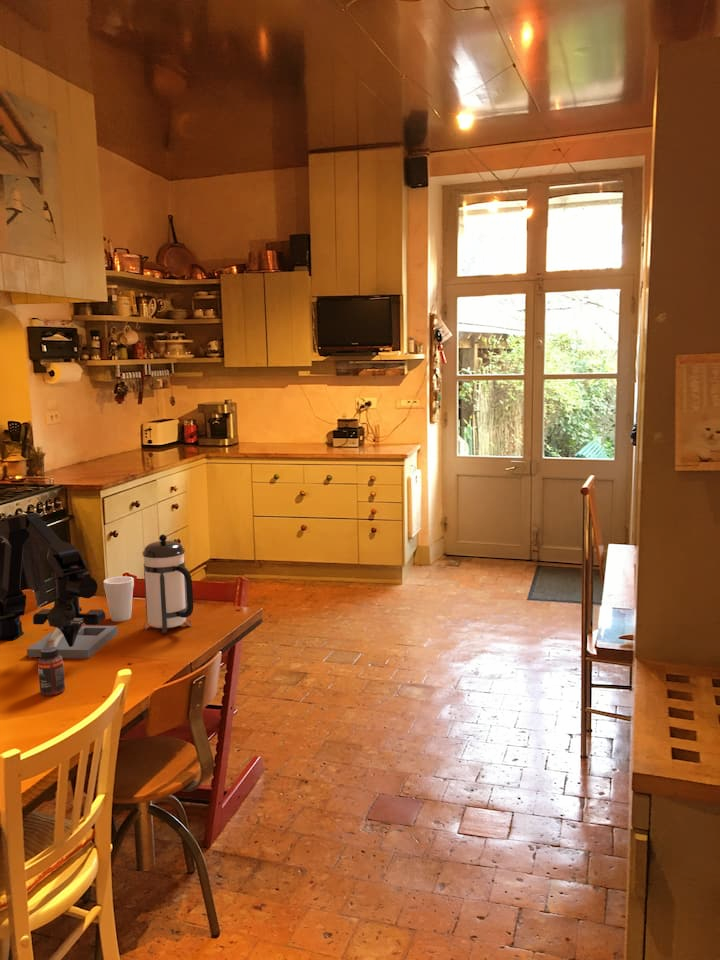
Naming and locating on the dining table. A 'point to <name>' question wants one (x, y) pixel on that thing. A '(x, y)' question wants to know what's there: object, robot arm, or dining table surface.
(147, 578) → the coffee press
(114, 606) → the foam cup
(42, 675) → the supplement bottle
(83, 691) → the dining table surface
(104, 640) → the board
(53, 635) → the lever
